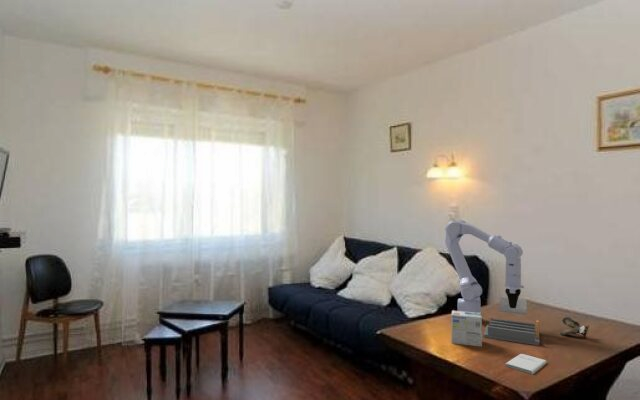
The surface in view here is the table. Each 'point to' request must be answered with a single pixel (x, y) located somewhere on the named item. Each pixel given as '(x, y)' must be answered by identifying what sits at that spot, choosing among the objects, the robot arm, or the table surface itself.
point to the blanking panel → (520, 308)
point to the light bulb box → (466, 328)
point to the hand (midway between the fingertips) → (512, 307)
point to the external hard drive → (526, 363)
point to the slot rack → (513, 331)
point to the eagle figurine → (574, 327)
